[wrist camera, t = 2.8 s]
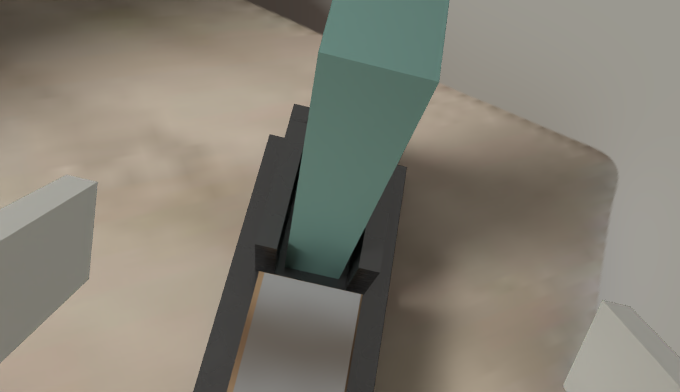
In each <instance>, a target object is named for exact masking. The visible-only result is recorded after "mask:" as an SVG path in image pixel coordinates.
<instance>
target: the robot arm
mask: <svg viewBox="0 0 680 392" xmlns="http://www.w3.org/2000/svg"><path fill="white" fill-rule="evenodd" d="M97 184H98V182H96V181H92V180H88V179H83V178H79V177H75V176H70V175H65V176H63V177H61V178H59V179H57V180H55V181H53V182H52V183H50V184H48V185H46V186H44V187H42V188H40V189H38V190H36V191H34V192H32V193H30V194H28V195H26V196H24V197H22V198H21V199H19V200H17V201H15V202H13V203H11V204H9V205H7V206H5V207H3V208H1V209H0V363H1V362H2V361H3V360H4V359H5V358H6V357H7V356H8V355H9V354H10V353H11V352H12V351H13V350H15V349H16V348H17V347H18V346H19V345H20V344H21V343H22V342H23V341H24V340H25V339H26V338H27V337H28V336H29V335H30V334H31V333H32V332H34V331H35V330H36V329H37V328H38V327H39V326H40V325H41V324H42V323H43V322H44V321H45V320H46V319H47V318H48V317H49V316H50V315H51V314H52V313H54V312H55V311H56V310H57V309H58V308H59V307H60V306H61V305H62V304H63V303H64V302H65V301H66V300H67V299H68V298H69V297H70V296H71V295H72V294H74V293H75V292H76V291H77V290H78V289H79V288H80V287H81V286H82V285H83V284H84V283H85V282H86V281H87V280H88V279H89V271H90V260H91V249H92V239H93V228H94V217H95V206H96V195H97ZM563 387H564V389H565V391H566V392H680V357H679V356H678V355H677V354H676V353H675V352H674V351H673V350H672V349H671V348H670V347H669V346H668V345H667V344H666V343H665V342H664V341H663V340H662V339H661V338H660V337H659V336H658V335H657V333H656V332H655V331H654V330H652V328H651V327H650V326H649V325H648V324H647V323H646V322H645V321H644V320H643V319H642V318H641V317H640V316H639V315H638V314H637V313H636V312H635V311H634V310H633V309H632V308H631V307H629V306H626V305H621V304H617V303H613V302H608V301H604V300H602V302H601V304H600V306H599V308H598V311H597V313H596V315H595V317H594V319H593V321H592V324H591V326H590V328H589V330H588V332H587V334H586V337H585V339H584V341H583V343H582V345H581V347H580V350H579V352H578V354H577V356H576V358H575V360H574V363H573V365H572V367H571V369H570V371H569V373H568V376H567V378H566V380H565V382H564V384H563Z"/></svg>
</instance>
